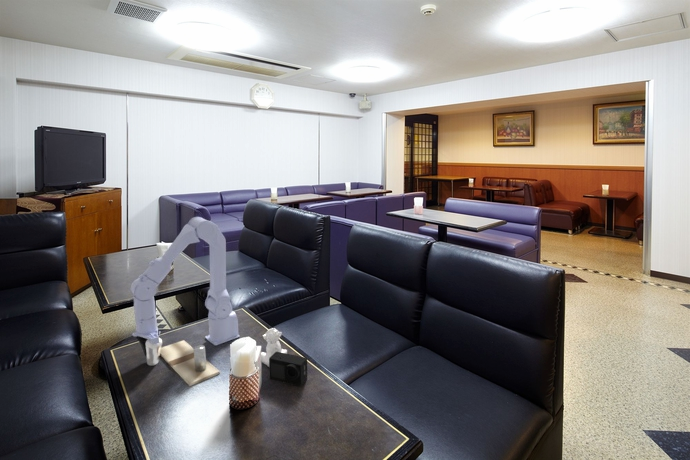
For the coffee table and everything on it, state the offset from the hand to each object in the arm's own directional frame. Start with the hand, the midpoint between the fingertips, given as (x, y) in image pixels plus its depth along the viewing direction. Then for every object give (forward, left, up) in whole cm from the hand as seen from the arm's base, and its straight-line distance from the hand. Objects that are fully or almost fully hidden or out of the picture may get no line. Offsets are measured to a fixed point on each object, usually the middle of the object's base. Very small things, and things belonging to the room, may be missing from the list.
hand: (149, 356), depth 120 cm
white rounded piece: (0, +2, -1) cm, 2 cm away
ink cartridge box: (-15, +36, -2) cm, 39 cm away
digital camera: (-25, +38, -2) cm, 46 cm away
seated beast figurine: (-28, +28, -2) cm, 39 cm away
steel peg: (-9, +17, -1) cm, 19 cm away
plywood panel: (-8, +9, -1) cm, 12 cm away
